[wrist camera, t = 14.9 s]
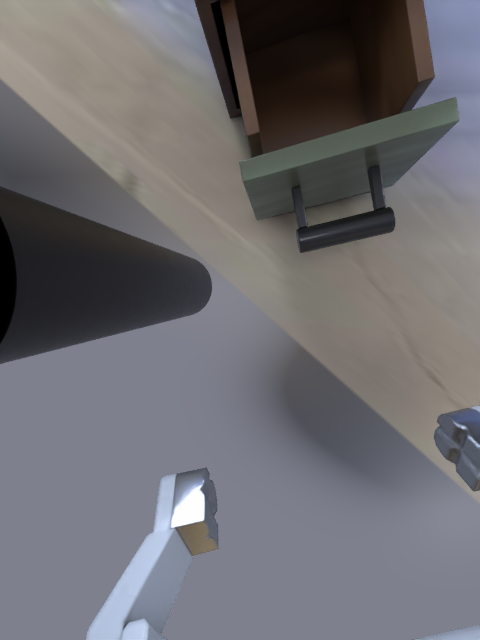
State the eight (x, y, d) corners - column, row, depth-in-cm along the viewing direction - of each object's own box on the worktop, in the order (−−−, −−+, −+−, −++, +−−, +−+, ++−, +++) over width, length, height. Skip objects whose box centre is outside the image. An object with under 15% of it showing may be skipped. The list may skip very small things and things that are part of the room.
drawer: (401, 238, 23) (472, 205, 14) (266, 268, 25) (257, 255, 16) (363, 13, 22) (417, -172, 13) (225, 63, 24) (192, -69, 15)
